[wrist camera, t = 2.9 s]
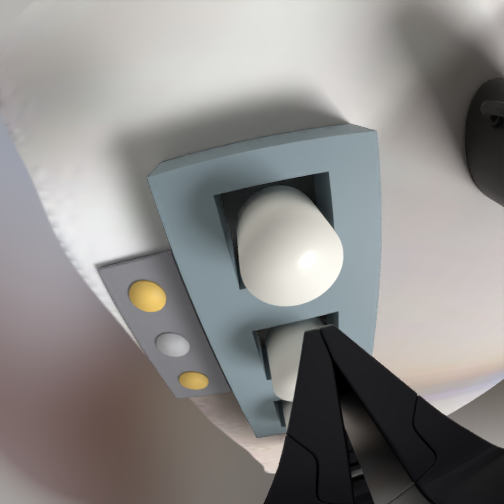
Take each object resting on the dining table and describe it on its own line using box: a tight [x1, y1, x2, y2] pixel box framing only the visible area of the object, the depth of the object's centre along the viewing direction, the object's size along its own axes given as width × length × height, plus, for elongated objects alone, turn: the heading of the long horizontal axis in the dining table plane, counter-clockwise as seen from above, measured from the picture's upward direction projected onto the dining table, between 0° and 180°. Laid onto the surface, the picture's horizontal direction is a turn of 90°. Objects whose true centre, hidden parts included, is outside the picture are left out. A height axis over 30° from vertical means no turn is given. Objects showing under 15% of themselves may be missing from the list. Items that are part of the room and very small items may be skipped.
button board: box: [147, 124, 381, 438], centre depth 19 cm, size 24×10×3 cm, turn 12°
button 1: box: [236, 185, 343, 306], centre depth 13 cm, size 4×4×4 cm
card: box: [98, 250, 231, 399], centre depth 20 cm, size 14×5×1 cm, turn 12°
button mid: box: [266, 317, 326, 402], centre depth 17 cm, size 4×4×4 cm
